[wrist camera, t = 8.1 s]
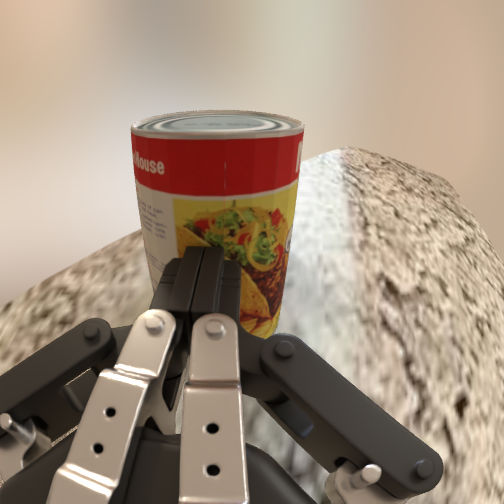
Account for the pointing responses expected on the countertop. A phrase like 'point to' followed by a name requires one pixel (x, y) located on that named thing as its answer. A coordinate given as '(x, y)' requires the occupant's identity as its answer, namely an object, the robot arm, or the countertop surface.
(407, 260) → the countertop surface
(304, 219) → the countertop surface
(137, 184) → the canned food
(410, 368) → the countertop surface
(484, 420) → the countertop surface
